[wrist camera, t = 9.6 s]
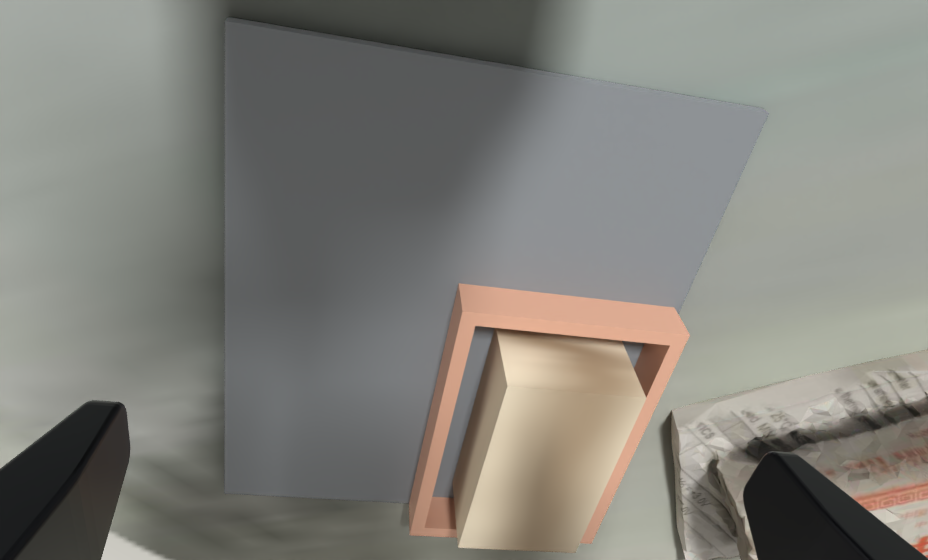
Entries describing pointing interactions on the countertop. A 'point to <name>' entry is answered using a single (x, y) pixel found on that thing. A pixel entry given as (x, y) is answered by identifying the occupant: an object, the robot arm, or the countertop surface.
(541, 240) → the mat
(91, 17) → the countertop surface
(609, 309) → the frame
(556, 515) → the cream rectangular prism
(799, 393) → the packaged product
